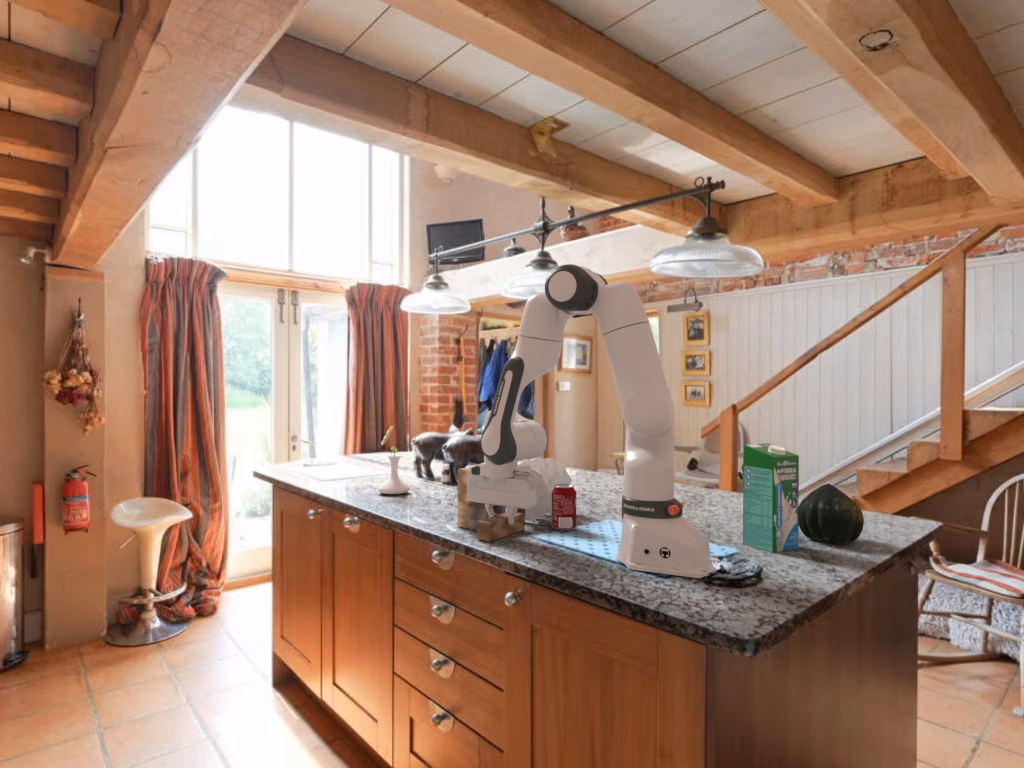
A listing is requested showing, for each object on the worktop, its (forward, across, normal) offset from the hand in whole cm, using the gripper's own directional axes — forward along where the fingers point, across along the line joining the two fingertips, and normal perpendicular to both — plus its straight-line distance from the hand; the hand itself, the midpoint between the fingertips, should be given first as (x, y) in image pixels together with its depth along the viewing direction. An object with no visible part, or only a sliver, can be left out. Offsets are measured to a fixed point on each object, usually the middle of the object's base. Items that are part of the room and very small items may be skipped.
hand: (501, 522), depth 153 cm
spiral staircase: (+4, +5, -25) cm, 26 cm away
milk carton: (+4, -60, -31) cm, 67 cm away
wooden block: (+3, 0, 0) cm, 3 cm away
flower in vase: (+3, +66, -25) cm, 71 cm away
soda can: (+4, -10, -16) cm, 19 cm away
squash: (+5, -71, -46) cm, 84 cm away
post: (+3, +10, -5) cm, 12 cm away
